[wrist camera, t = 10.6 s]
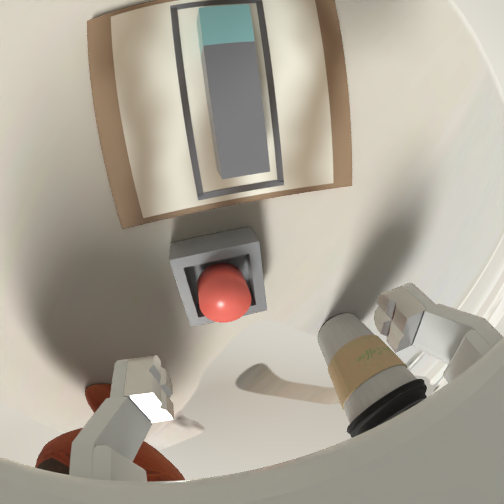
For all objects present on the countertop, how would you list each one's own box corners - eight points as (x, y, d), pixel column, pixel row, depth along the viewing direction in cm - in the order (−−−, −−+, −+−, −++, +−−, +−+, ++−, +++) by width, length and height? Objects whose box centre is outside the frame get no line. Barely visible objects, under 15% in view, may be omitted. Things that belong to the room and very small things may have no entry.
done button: (202, 306, 23) (205, 326, 21) (192, 268, 21) (193, 287, 19) (247, 297, 24) (254, 316, 22) (241, 258, 22) (248, 275, 20)
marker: (258, 163, 20) (270, 171, 17) (217, 170, 20) (222, 179, 17) (240, 19, 14) (249, 4, 12) (196, 23, 14) (198, 7, 11)
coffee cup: (368, 289, 31) (443, 378, 18) (367, 337, 36) (422, 415, 23) (297, 321, 30) (356, 432, 17) (308, 364, 35) (352, 454, 22)
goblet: (204, 411, 36) (237, 560, 14) (115, 433, 36) (121, 554, 14) (119, 338, 26) (115, 573, 5) (32, 375, 26) (7, 525, 5)
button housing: (189, 306, 26) (191, 326, 23) (170, 243, 23) (169, 260, 20) (258, 291, 27) (266, 310, 24) (250, 226, 24) (259, 241, 21)
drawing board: (124, 225, 21) (122, 229, 20) (90, 23, 12) (86, 20, 11) (347, 183, 24) (352, 186, 23) (329, 0, 15) (334, -3, 14)
